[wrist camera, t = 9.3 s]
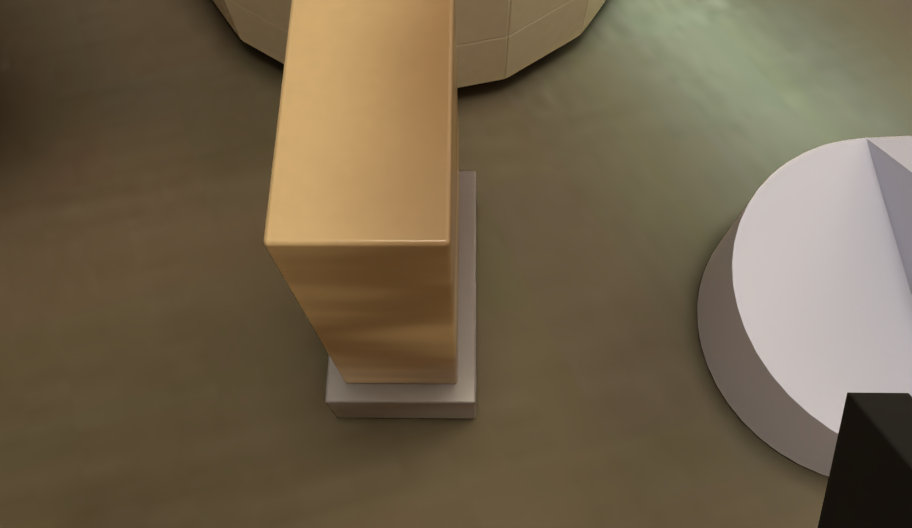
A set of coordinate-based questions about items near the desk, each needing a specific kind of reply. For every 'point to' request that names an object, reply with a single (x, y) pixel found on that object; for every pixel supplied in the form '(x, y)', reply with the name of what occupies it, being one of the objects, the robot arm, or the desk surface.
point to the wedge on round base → (814, 295)
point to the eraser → (378, 205)
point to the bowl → (477, 31)
